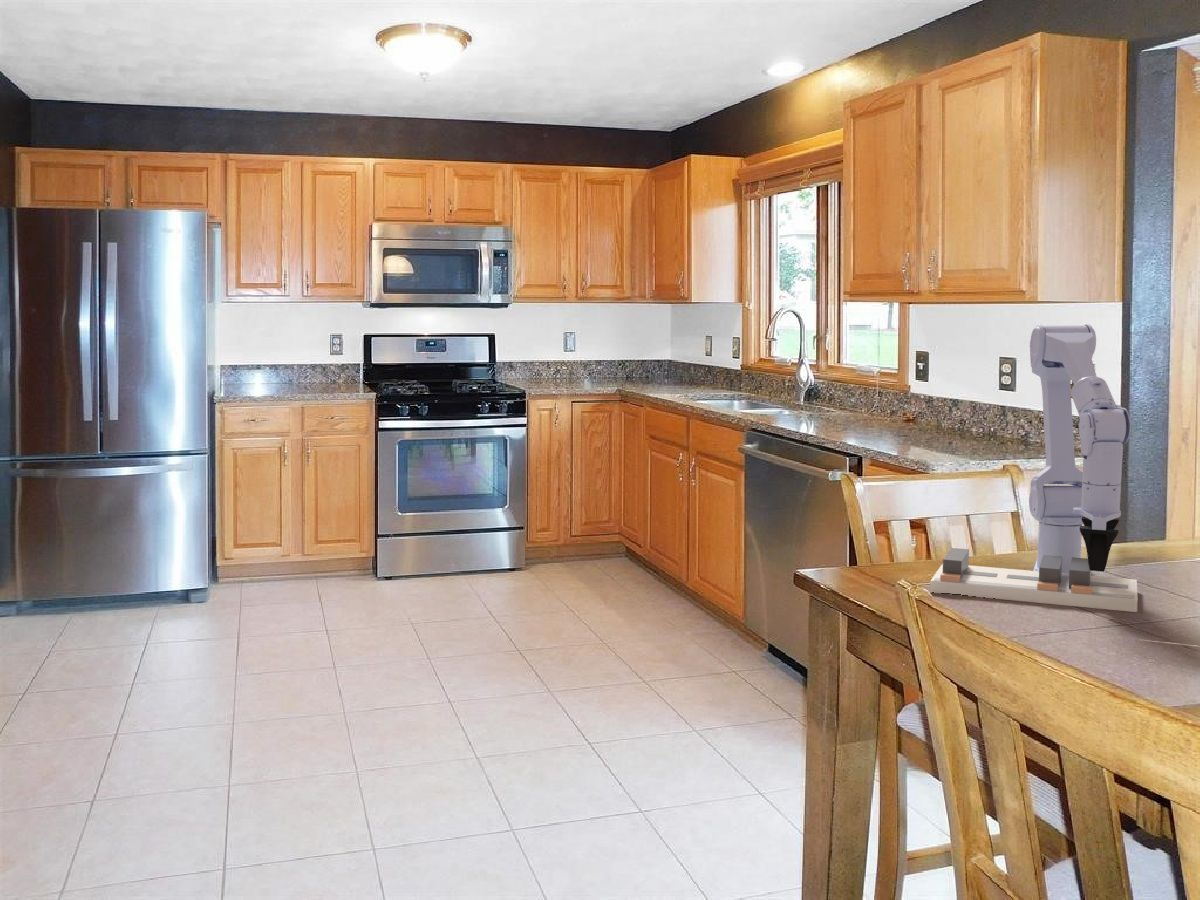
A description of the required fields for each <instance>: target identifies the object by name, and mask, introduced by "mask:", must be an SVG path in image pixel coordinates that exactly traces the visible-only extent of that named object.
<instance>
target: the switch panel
mask: <svg viewBox="0 0 1200 900" xmlns="http://www.w3.org/2000/svg"><path fill="white" fill-rule="evenodd" d="M1137 581H1138V579H1135V578H1122V577H1111V576H1110V577H1109V576H1099V575H1098V576H1097V575H1091V578H1090V586H1083V585H1072V586H1071V588H1069V574H1064V573H1062V575H1061V579H1060V583H1059V587H1058V583H1049V582H1039V571H1033V570H1029V569H1028V570H1027V569H1026V570H1025V569H1017V568H1016V569H1015V568H1002V567H993V566H979V565H969V566H968V568H967V570H966V571H965V573H964V575H963V576H962V578H961V579H960V575H958V574H947V573H943V563H942V564H941V565H940V566H939V568H938V570H937V571H936V572H935V573H934V575H933V576H932V578H931V579H930V583H929V585H930V586H929V589H930V590H929V593H932V592H934V593H933V594H941V593H954V594H961V595H960V596H962V595H968V596H967V597H972V596H976V597H975V598H983V597H985V598H986V599H993V598H995V599H996V600H1007V601H1015V602H1016V601H1017V602H1025V603H1026V602H1027V603H1038V604H1048V605H1058V606H1068V607H1079V608H1088V609H1099V610H1110V611H1122V612H1131V613H1138V600H1139V599H1138V582H1137Z"/></svg>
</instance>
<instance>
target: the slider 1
mask: <svg viewBox="0 0 1200 900" xmlns="http://www.w3.org/2000/svg"><path fill="white" fill-rule="evenodd" d="M969 560H970V549H969V548H958V547H951V548H950V549H949V551H948V552H947V553H946V554H945V556H944V558H943V559H942V564H943V573H947V574H958V575H960V579H961V578H962V576H963V575H964V573H965V571H966V570H967V568H968V566H969V564H970V563H969V562H970V561H969Z"/></svg>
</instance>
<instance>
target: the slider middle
mask: <svg viewBox="0 0 1200 900" xmlns="http://www.w3.org/2000/svg"><path fill="white" fill-rule="evenodd" d="M1061 575H1062V557H1061V556H1049V555H1043V558H1042V561H1041V564H1040V567H1039V582H1049V583H1058V587H1059V583H1060V579H1061Z"/></svg>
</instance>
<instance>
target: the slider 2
mask: <svg viewBox="0 0 1200 900" xmlns="http://www.w3.org/2000/svg"><path fill="white" fill-rule="evenodd" d="M1091 574H1092V571H1090V568H1089V564H1088V557H1087V558H1085V557H1081V558H1074V557H1072V560H1071V565H1070V570H1069V588H1071V586H1072V585H1083V586H1090V578H1091V576H1092V575H1091Z"/></svg>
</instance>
